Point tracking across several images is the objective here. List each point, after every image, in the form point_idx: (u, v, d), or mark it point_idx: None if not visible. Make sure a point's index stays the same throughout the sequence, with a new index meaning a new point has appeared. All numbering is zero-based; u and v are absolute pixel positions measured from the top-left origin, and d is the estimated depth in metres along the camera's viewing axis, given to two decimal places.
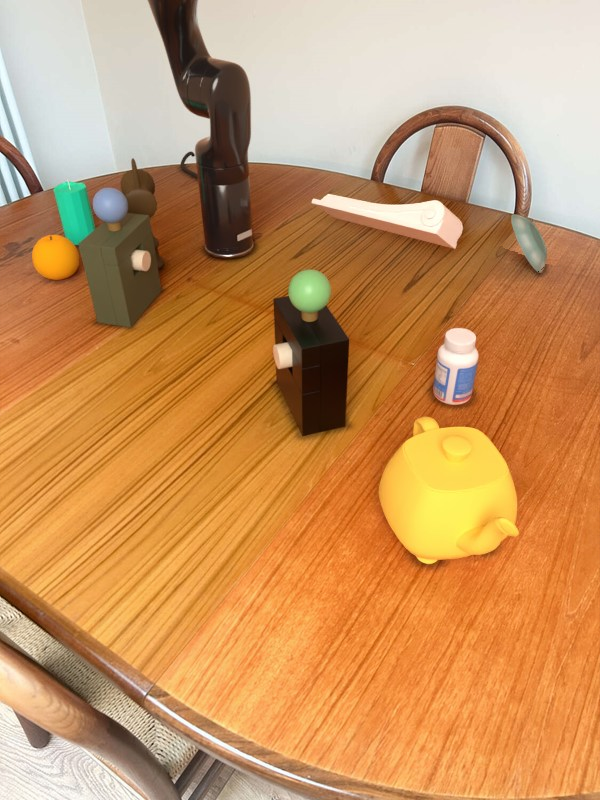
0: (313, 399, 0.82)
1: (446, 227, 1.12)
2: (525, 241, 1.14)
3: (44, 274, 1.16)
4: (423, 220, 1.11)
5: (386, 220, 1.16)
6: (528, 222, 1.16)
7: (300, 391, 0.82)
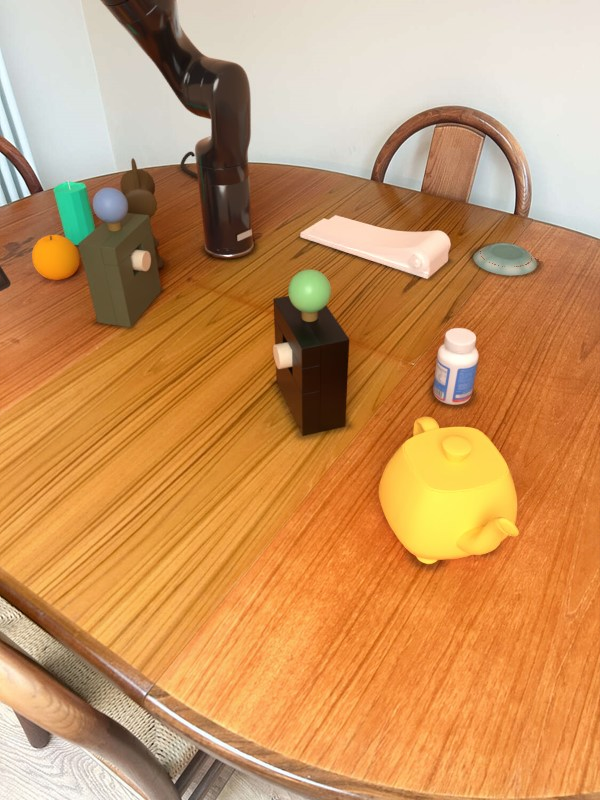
0: (313, 399, 0.82)
1: (434, 263, 1.17)
2: (479, 256, 1.22)
3: (44, 274, 1.16)
4: (411, 266, 1.17)
5: (377, 261, 1.22)
6: (493, 244, 1.24)
7: (300, 391, 0.82)
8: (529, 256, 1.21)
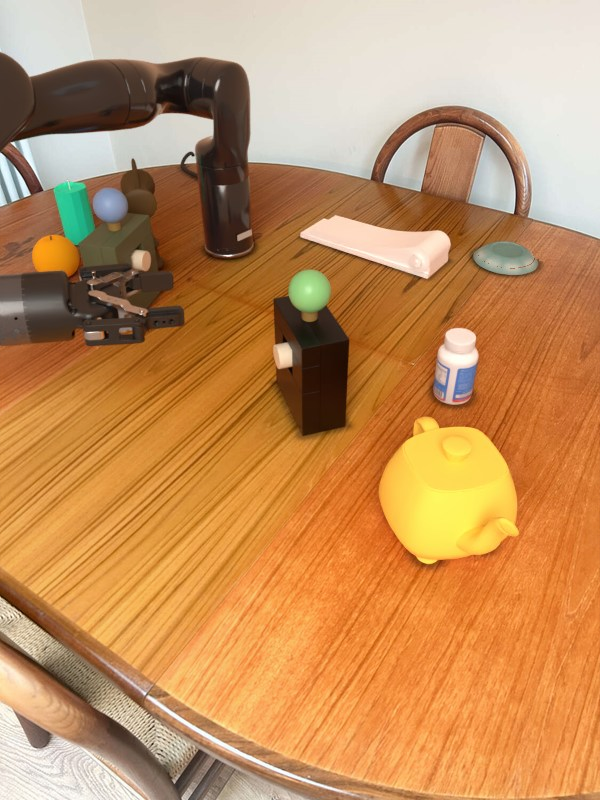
0: (313, 399, 0.82)
1: (434, 263, 1.17)
2: (480, 255, 1.22)
3: None
4: (411, 266, 1.17)
5: (377, 261, 1.22)
6: (494, 242, 1.24)
7: (300, 391, 0.82)
8: (529, 254, 1.20)
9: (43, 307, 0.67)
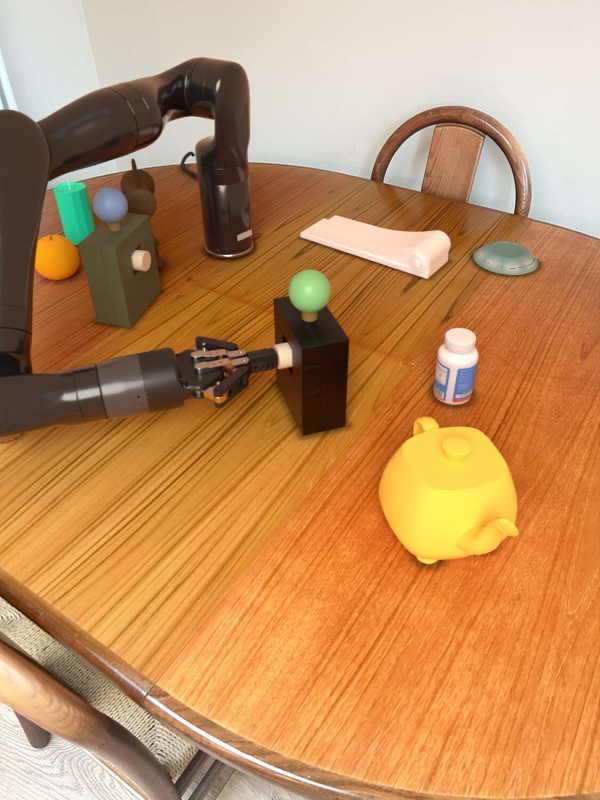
0: (313, 399, 0.82)
1: (434, 263, 1.17)
2: (480, 255, 1.22)
3: (44, 274, 1.16)
4: (411, 266, 1.17)
5: (377, 261, 1.22)
6: (494, 242, 1.24)
7: (300, 391, 0.82)
8: (529, 254, 1.20)
9: (160, 385, 0.77)
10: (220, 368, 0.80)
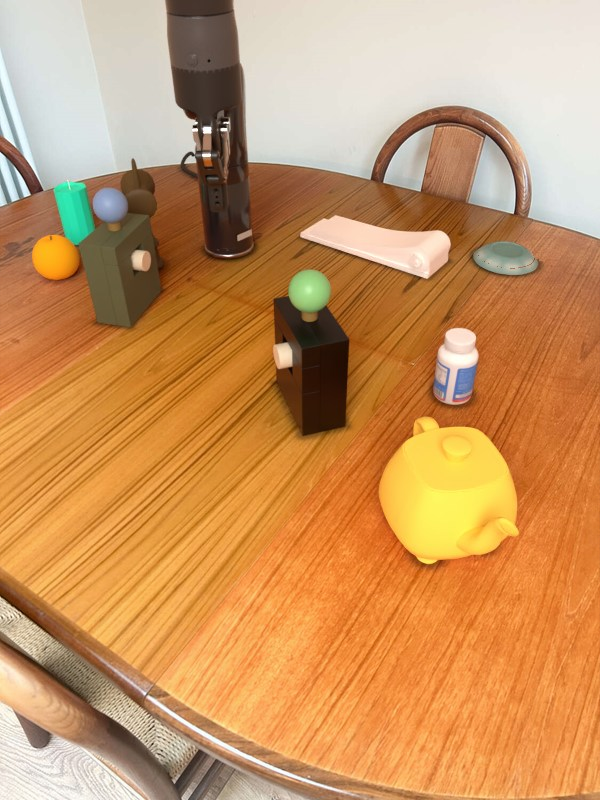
0: (313, 399, 0.82)
1: (434, 263, 1.17)
2: (480, 255, 1.22)
3: (44, 274, 1.16)
4: (411, 266, 1.17)
5: (377, 261, 1.22)
6: (494, 242, 1.24)
7: (300, 391, 0.82)
8: (529, 254, 1.20)
9: (219, 88, 0.70)
10: (222, 153, 0.76)
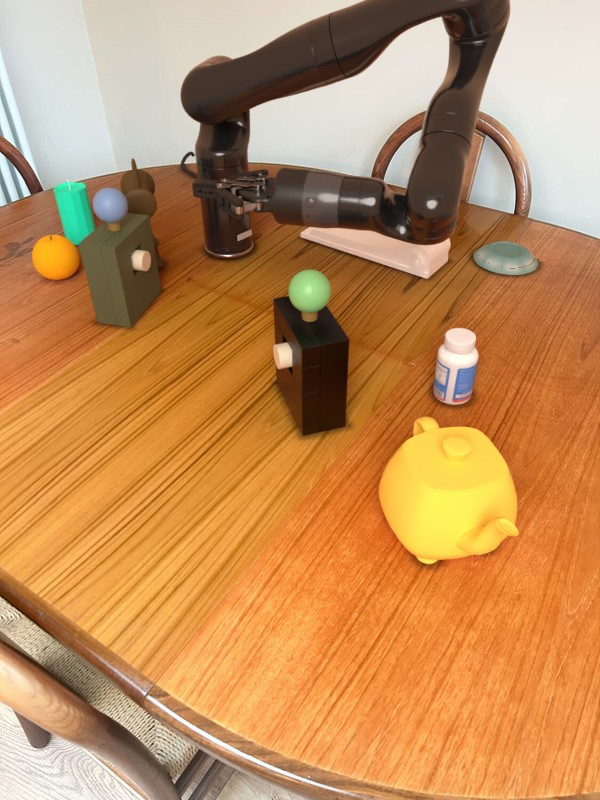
0: (313, 399, 0.82)
1: (434, 263, 1.17)
2: (480, 254, 1.22)
3: (44, 274, 1.16)
4: (411, 266, 1.17)
5: (377, 261, 1.22)
6: (494, 242, 1.24)
7: (300, 391, 0.82)
8: (529, 254, 1.20)
9: (289, 219, 0.89)
10: None
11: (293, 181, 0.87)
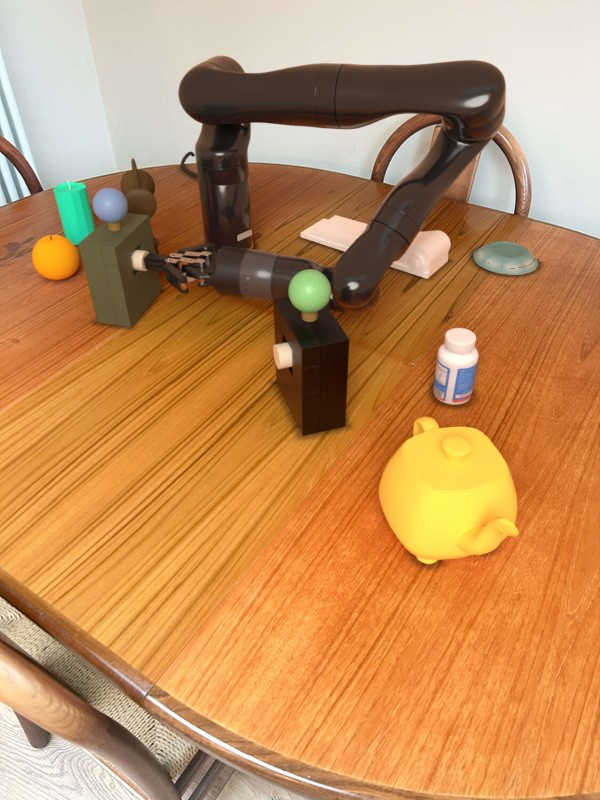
0: (313, 399, 0.82)
1: (434, 263, 1.17)
2: (480, 255, 1.22)
3: (44, 274, 1.16)
4: (411, 266, 1.17)
5: None
6: (494, 242, 1.24)
7: (300, 391, 0.82)
8: (529, 254, 1.20)
9: (230, 292, 1.00)
10: None
11: (231, 260, 0.98)
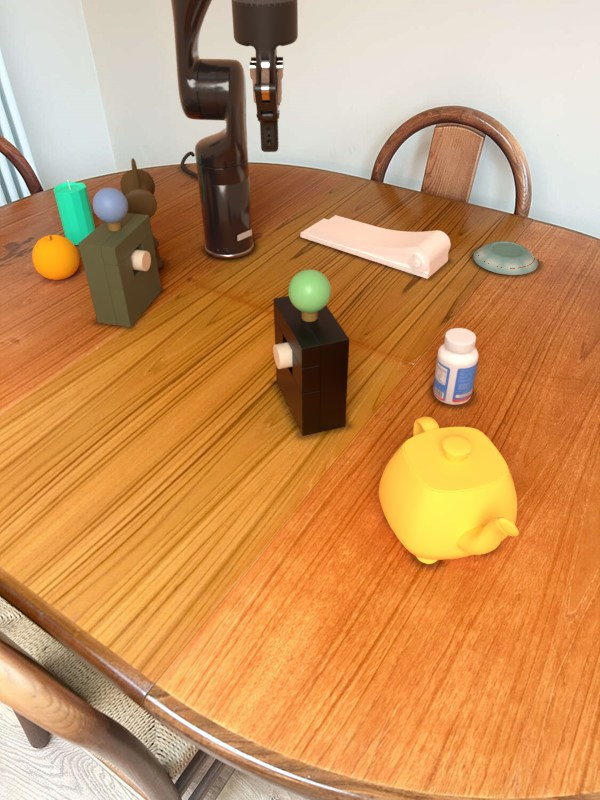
0: (313, 399, 0.82)
1: (434, 263, 1.17)
2: (480, 254, 1.22)
3: (44, 274, 1.16)
4: (411, 266, 1.17)
5: (377, 261, 1.22)
6: (494, 242, 1.24)
7: (300, 391, 0.82)
8: (529, 254, 1.20)
9: (279, 22, 0.73)
10: (277, 90, 0.79)
11: (237, 17, 0.74)
